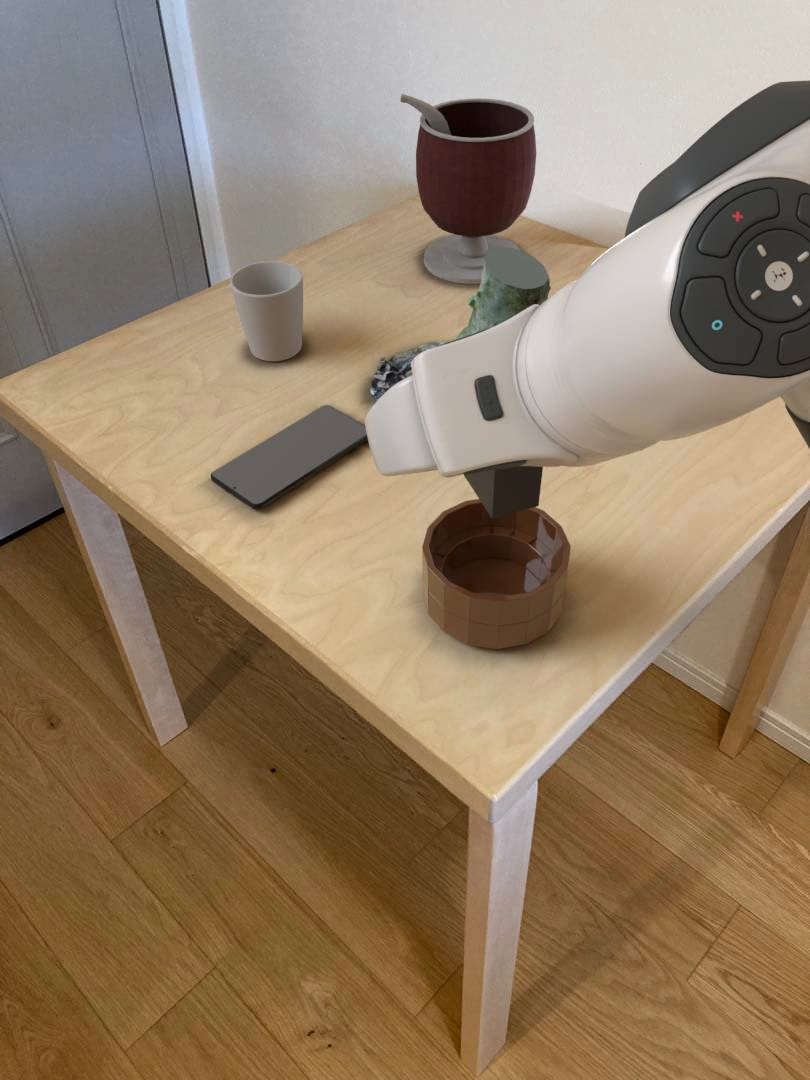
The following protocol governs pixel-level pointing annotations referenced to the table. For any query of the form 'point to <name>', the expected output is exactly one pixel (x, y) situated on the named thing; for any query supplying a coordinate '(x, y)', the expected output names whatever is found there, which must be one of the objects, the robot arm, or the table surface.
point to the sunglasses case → (507, 489)
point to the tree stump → (481, 307)
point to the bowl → (494, 574)
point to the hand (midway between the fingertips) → (496, 425)
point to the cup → (270, 308)
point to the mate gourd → (472, 178)
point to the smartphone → (290, 457)
